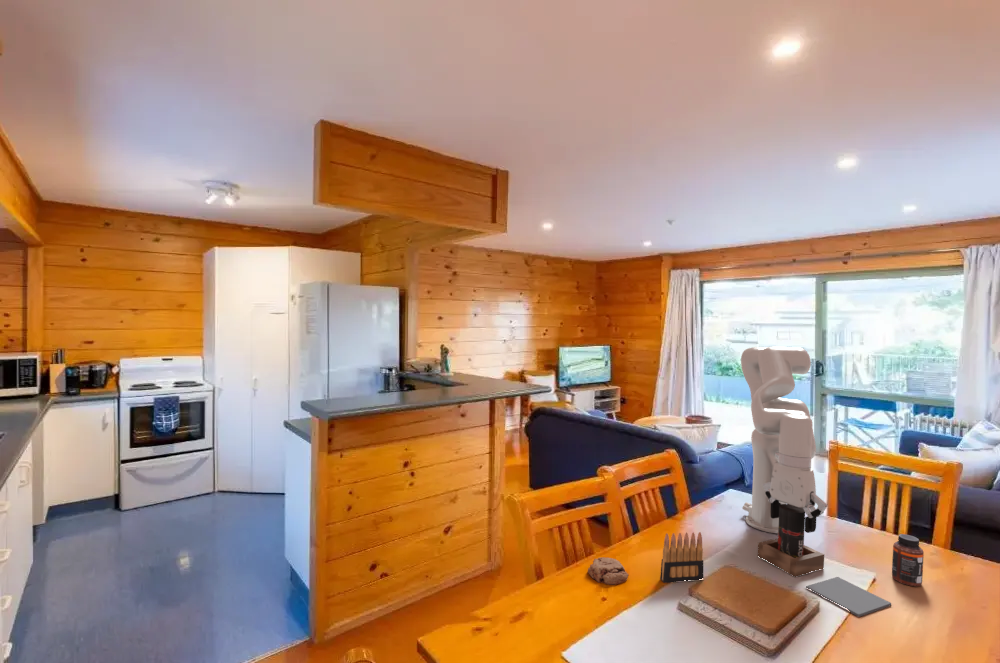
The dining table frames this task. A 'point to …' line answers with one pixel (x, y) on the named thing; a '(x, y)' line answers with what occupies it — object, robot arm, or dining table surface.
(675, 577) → the ammunition clip
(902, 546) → the supplement bottle
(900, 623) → the dining table surface
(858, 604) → the mat
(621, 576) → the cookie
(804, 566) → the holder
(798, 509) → the deodorant
